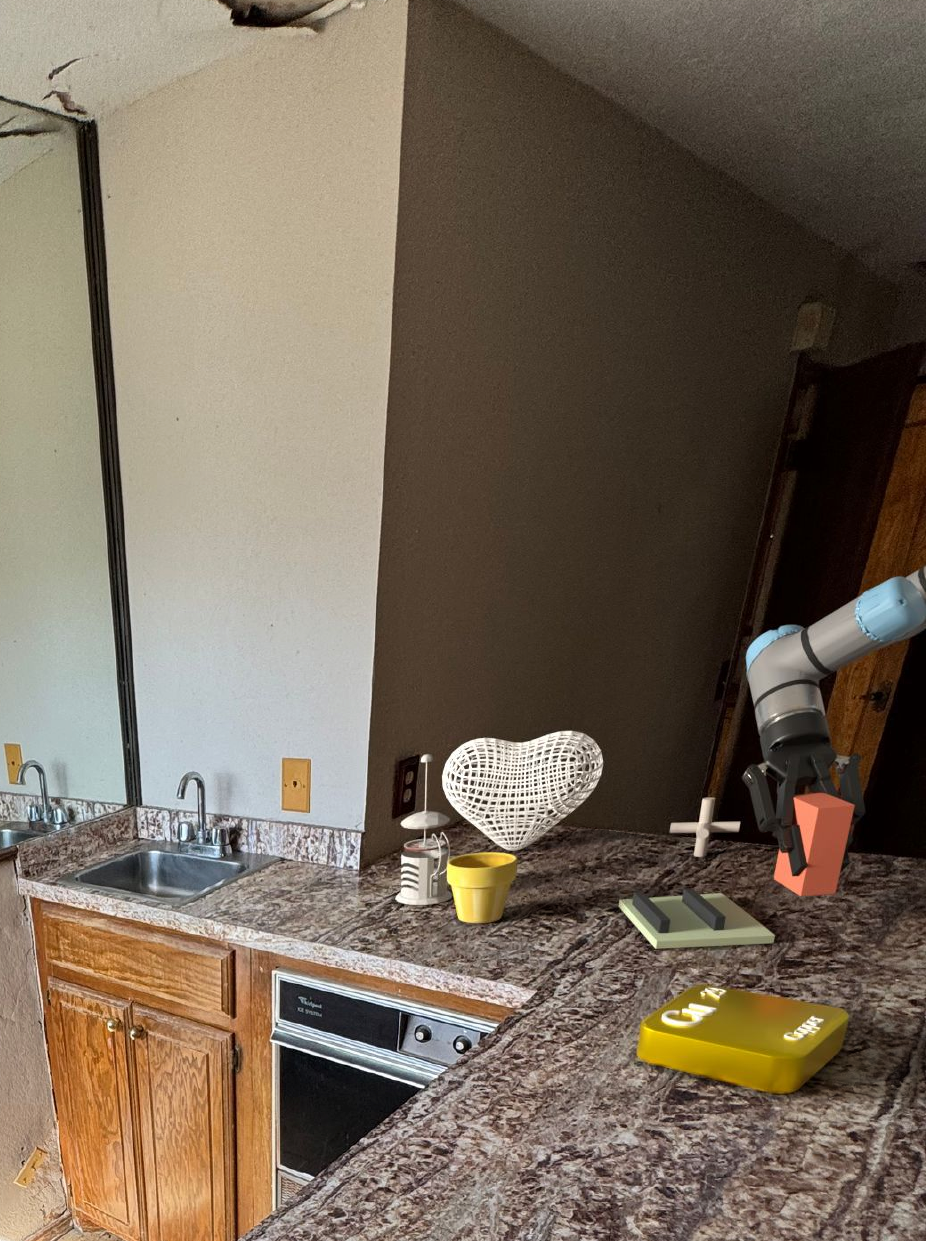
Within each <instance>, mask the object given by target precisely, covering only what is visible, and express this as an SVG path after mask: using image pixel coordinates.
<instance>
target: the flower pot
mask: <svg viewBox="0 0 926 1241" xmlns="http://www.w3.org/2000/svg"><path fill="white" fill-rule="evenodd" d="M447 861H448V860H447ZM517 873H518V858H517V856H516V855H514V854H510V853H505V852H495V851H494V852H492V851H490V852H489V851H488V852H487V851H485V852H475V853H473V852H472V853H466V854H461V855H458V856H454V857H452V858H450V860H449V861H448V863H447V877H446V878H447V884H449V885H450V886H451V891H452V894H453V895H452V897H453V900H454V905H455V909H456V915H457V919H458V920H459V921H461V922H463V923H466V924H488V923H493V922H497V921H499V920H501V919H502V916H503V913H504V910H505V905H506V902H507V899H508V895H509V892H510V888H511V885H512V883H513V882H514V881H515V880H516V879H517V875H518V874H517Z"/></svg>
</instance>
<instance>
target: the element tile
mask: <svg viewBox="0 0 926 1241" xmlns="http://www.w3.org/2000/svg"><path fill="white" fill-rule="evenodd" d="M849 1020H850V1015H849V1013H848V1012H847V1011H846V1010H845V1009H843V1008H841V1007H836V1006H831V1005H825V1004H820V1003H815V1002H809V1001H803V1000H798V999H797V1000H796V999H792V998H786V997H781V996H775V995H769V994H763V993H759V992H758V993H757V992H751V991H747V990H741V989H735V988H729V987H725V986H719V985H713V984H712V985H711V984H706V983H705V984H704V983H701V984H697V985H694V986H691V987H688V988H687V989H685V990H684V991H682V992H681V993H680V994H678V995H677V996H675V997H674V998H672V999H671V1000H670V1001H668V1002H666V1003H665V1004H664V1005H662V1006H661V1007H659V1008H658V1009H656V1010H655V1011H653V1012H652V1013H651V1014H649V1015H648V1016H646V1017H645V1018H644V1019H642V1020H641V1021H640V1027H639V1032H638V1041H637V1048H636V1057H638V1059H639V1060H641V1061H643V1062H645V1063H647V1064H651V1065H655V1066H658V1067H663V1068H667V1069H670V1070H674V1071H679V1072H682V1073H687V1074H691V1075H695V1076H699V1077H703V1078H707V1079H711V1080H715V1081H718V1082H723V1083H727V1084H731V1085H734V1086H735V1085H736V1086H739V1087H743V1088H747V1089H751V1090H756V1091H759V1092H764V1093H768V1094H777V1095H783V1094H785V1095H787V1094H791V1093H794V1092H796V1091H798V1090H799V1089H800V1088H802V1087H803V1086H804V1085H805V1084H806V1083H807V1082H808V1081H809V1080H810V1079H812V1077H814V1076H815V1075H816V1073H818V1072H819V1071H820V1070H821V1069H822V1068H823V1067H825V1065H827V1064H828V1063H829V1062H830V1061H831V1060H832V1059H833V1058H834V1057H835V1056H836V1055H837V1054H839V1052H840V1051H841V1050H842V1047H843V1044H844V1039H845V1036H846V1032H847V1028H848V1024H849Z"/></svg>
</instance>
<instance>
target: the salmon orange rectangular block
mask: <svg viewBox="0 0 926 1241" xmlns="http://www.w3.org/2000/svg"><path fill="white" fill-rule="evenodd" d="M854 807H855V805H854V804H851V803H849V802H846V801H844V800H842V798H841V799H839V798H836V797H834V796H831V795H829V794H825V793H813V792H810V793H802V794H795V797H794V808H793V819H792V824H791V827H792V826H793V825H800V830H801V835H802V840H803V845H804V850H805V856H806V861H807V865H808V866H807V867H806V868H805V869H804V871H803V872H802V873H801V874H800V875H799V876H793V877H792V872H791V867H790V862H789V857H788V853H781V851H780V849H778V854H777V858H776V865H775V870H774V874H773V880H775V881H776V882H778V883H779V884H781V885H783V886H784V887H786V888H787V889H788V890H790V891H791V892H793V893H795V894H796V895H798V896H799V897H811V896H812V897H813V896H825V895H827V896H828V895H836V893H837V890H838V889H837V888H838V884H839V879H840V875H841V873H840V871H841V866H842V862H843V857H844V852H845V848H846V843H847V839H848V834H849V830H850V829H851V826H852V825H851V821H852V816H853V812H854Z"/></svg>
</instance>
